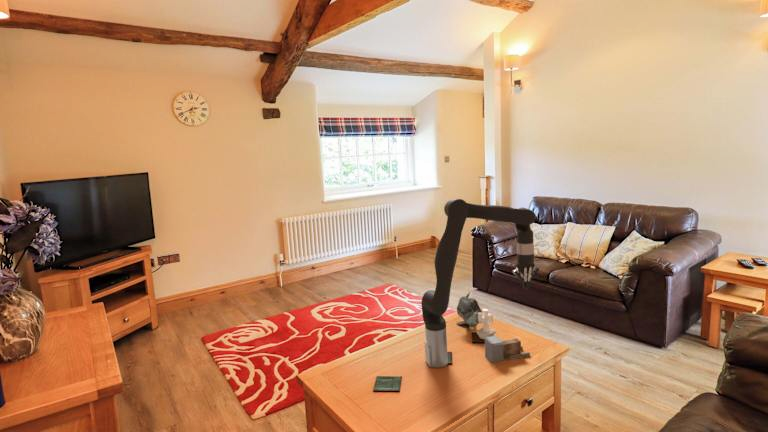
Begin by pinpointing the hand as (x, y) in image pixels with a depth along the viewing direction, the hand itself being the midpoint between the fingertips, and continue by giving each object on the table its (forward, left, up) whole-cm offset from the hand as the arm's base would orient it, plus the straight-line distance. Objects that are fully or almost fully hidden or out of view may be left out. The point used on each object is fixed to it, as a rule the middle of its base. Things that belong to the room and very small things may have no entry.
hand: (526, 288), depth 196 cm
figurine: (-13, +16, -29) cm, 36 cm away
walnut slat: (-14, -4, -29) cm, 32 cm away
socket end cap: (-19, -4, -29) cm, 35 cm away
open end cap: (-8, -4, -29) cm, 30 cm away
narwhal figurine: (-16, +29, -29) cm, 44 cm away
